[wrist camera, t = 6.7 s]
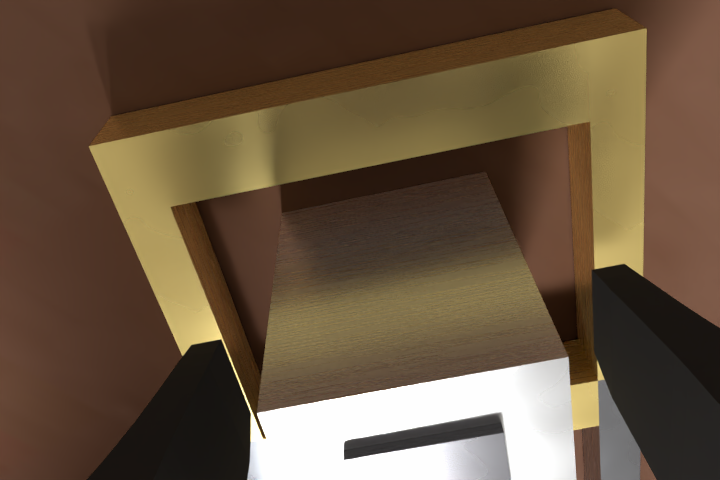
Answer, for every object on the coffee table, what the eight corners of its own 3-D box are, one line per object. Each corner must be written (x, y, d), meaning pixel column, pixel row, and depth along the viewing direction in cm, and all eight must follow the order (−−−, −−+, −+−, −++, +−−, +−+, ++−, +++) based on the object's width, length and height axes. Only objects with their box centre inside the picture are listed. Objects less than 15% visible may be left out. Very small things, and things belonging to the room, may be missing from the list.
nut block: (329, 363, 17) (328, 601, 12) (281, 212, 15) (255, 423, 10) (505, 331, 17) (584, 560, 12) (485, 171, 15) (572, 366, 9)
